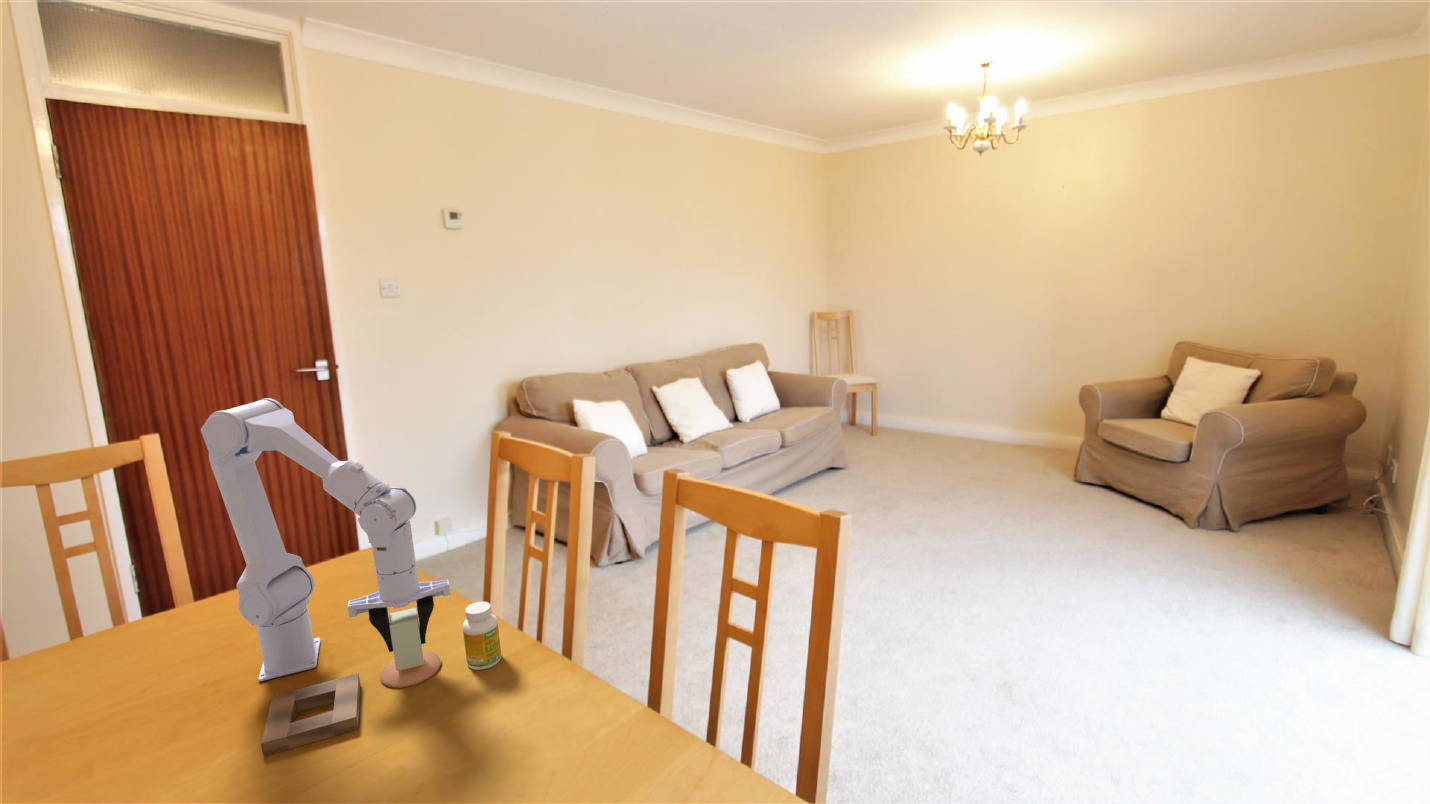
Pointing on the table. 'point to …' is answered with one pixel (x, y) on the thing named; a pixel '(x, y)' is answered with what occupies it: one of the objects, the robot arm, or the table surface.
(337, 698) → the block
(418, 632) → the peg
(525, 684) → the table surface
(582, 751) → the table surface
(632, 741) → the table surface
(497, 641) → the supplement bottle
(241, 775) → the table surface
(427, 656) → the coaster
